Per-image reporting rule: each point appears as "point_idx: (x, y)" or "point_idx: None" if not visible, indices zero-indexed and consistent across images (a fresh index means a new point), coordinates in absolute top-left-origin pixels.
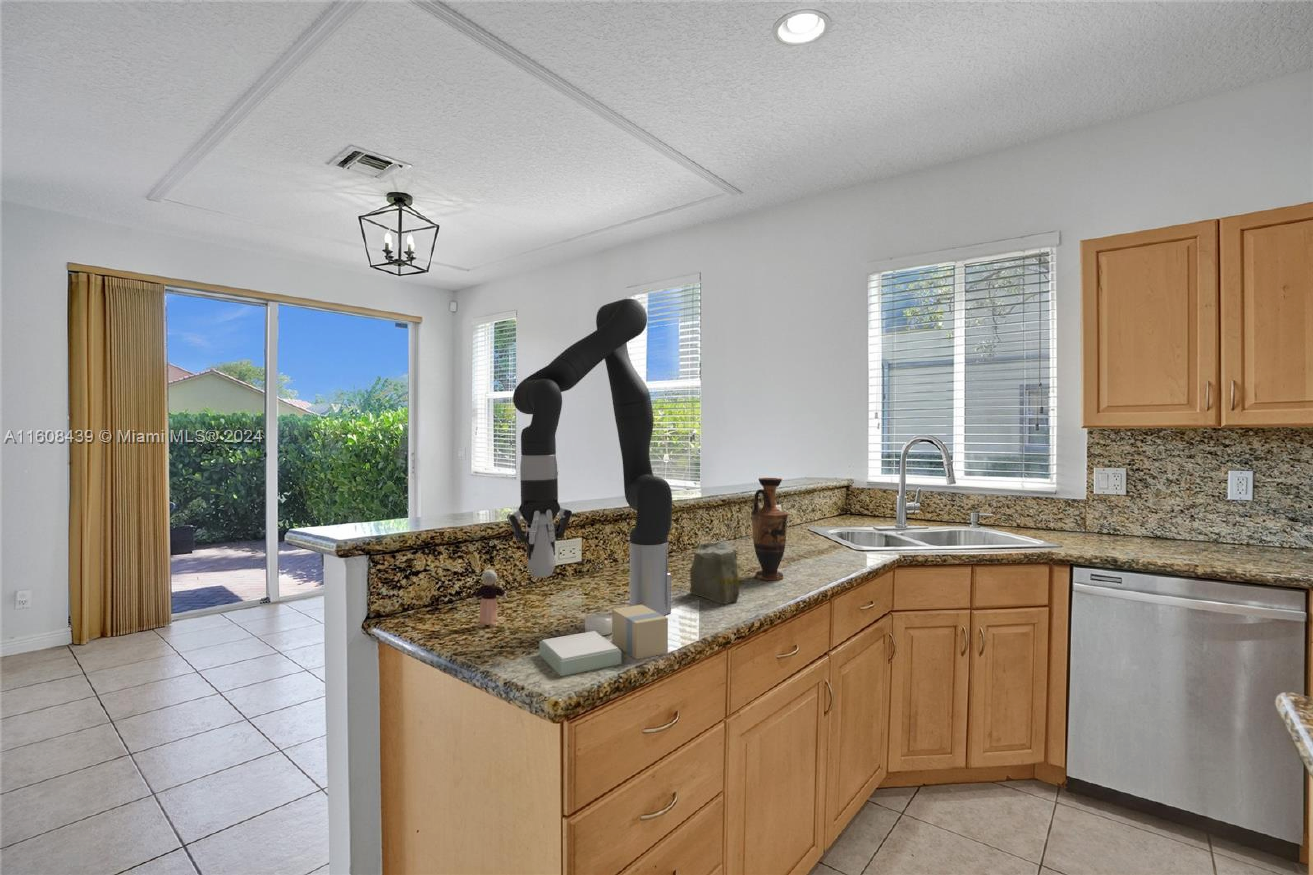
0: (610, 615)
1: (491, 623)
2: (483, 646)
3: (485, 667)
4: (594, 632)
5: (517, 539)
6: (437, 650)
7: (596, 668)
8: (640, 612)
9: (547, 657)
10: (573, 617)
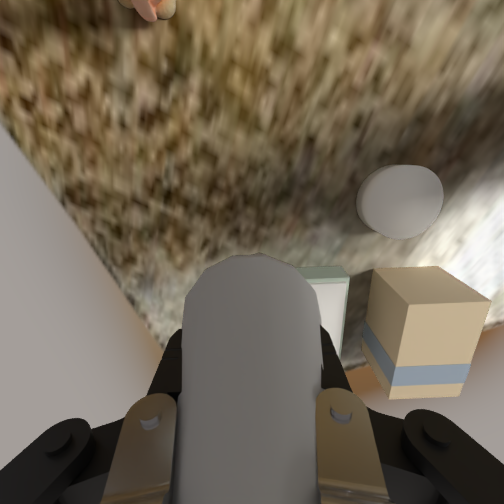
0: (440, 196)
1: (152, 20)
2: (129, 174)
3: (129, 284)
4: (341, 291)
5: (50, 432)
6: (27, 153)
7: None
8: (443, 349)
9: None
10: (398, 41)
